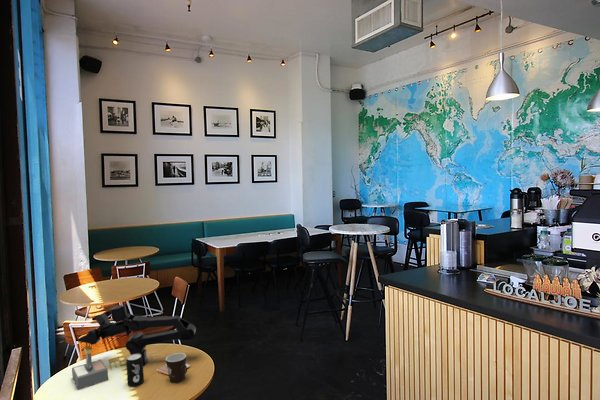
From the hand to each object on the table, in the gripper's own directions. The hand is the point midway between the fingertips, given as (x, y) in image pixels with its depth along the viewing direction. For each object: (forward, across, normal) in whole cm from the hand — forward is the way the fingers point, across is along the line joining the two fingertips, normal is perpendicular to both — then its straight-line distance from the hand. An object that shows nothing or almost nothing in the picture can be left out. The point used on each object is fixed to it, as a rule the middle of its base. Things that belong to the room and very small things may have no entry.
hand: (82, 337), depth 192 cm
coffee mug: (-43, +16, +27) cm, 53 cm away
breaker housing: (-4, +9, +18) cm, 20 cm away
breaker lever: (-5, +10, +12) cm, 16 cm away
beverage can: (-25, +16, +23) cm, 38 cm away
